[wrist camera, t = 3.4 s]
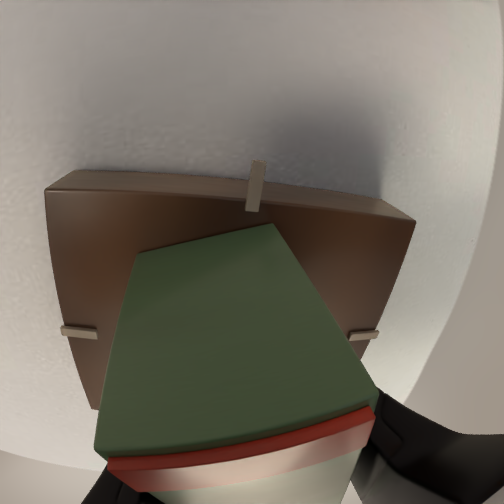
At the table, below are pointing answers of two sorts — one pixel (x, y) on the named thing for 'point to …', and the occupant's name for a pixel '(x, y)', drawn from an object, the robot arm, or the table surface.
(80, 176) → the brown rectangular platform
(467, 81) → the table surface
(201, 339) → the green box
